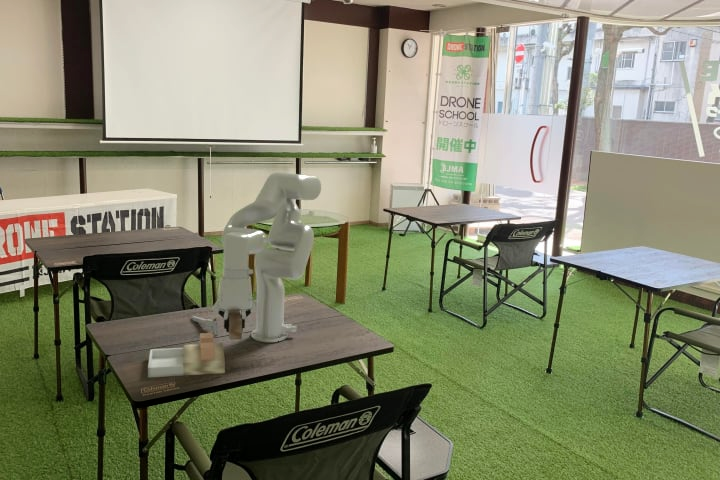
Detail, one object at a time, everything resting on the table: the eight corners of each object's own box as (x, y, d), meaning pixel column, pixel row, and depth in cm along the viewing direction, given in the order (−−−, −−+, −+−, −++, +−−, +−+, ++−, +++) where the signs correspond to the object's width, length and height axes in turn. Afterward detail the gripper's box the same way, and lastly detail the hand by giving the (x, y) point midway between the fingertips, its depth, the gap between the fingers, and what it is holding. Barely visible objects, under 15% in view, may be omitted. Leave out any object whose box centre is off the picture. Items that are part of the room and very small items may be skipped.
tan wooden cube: (213, 354, 193) (214, 342, 192) (214, 359, 189) (214, 347, 188) (200, 355, 191) (200, 342, 191) (200, 360, 188) (200, 348, 187)
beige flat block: (222, 354, 203) (222, 342, 202) (224, 372, 190) (224, 360, 189) (183, 356, 199) (183, 344, 199) (183, 375, 186) (183, 362, 185)
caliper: (217, 336, 218) (217, 319, 217) (214, 336, 218) (215, 319, 216) (193, 318, 234) (193, 302, 233) (190, 319, 233) (190, 303, 232)
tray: (183, 356, 199) (183, 347, 199) (183, 375, 186) (183, 366, 186) (150, 358, 197) (150, 349, 196) (148, 377, 184) (147, 368, 183)
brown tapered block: (238, 325, 200) (238, 308, 199) (241, 339, 189) (242, 320, 188) (227, 326, 199) (227, 308, 198) (229, 339, 188) (230, 320, 187)
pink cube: (212, 344, 200) (212, 332, 199) (213, 349, 196) (213, 337, 195) (199, 345, 199) (199, 333, 198) (200, 350, 195) (200, 338, 194)
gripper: (261, 270, 196) (259, 325, 200) (207, 270, 192) (206, 327, 195) (264, 276, 189) (262, 333, 193) (208, 276, 185) (207, 335, 188)
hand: (234, 329), depth 194 cm, fingers closed on brown tapered block, 3 cm apart
